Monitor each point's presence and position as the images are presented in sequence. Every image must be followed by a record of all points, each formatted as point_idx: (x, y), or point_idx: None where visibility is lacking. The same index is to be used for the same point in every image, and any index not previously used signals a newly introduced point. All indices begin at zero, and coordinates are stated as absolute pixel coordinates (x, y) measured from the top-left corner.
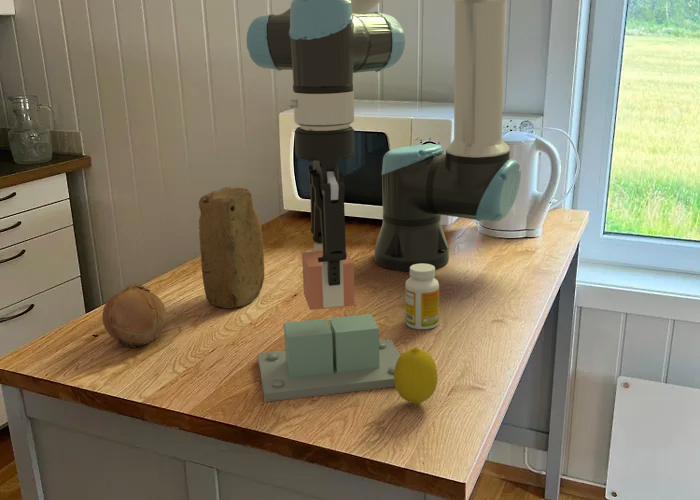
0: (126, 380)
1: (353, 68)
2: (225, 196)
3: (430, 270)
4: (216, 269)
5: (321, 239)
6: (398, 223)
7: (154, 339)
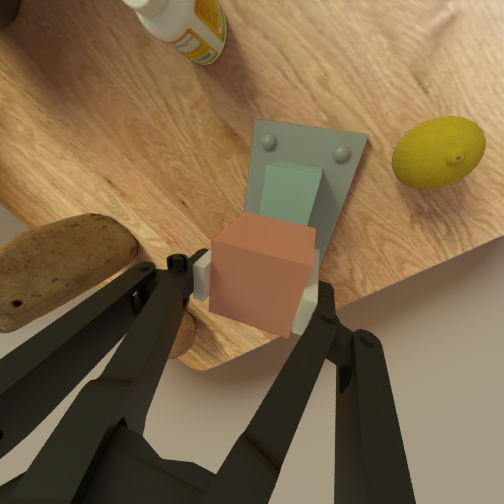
0: (238, 338)
1: None
2: None
3: None
4: (105, 277)
5: (188, 290)
6: None
7: None
